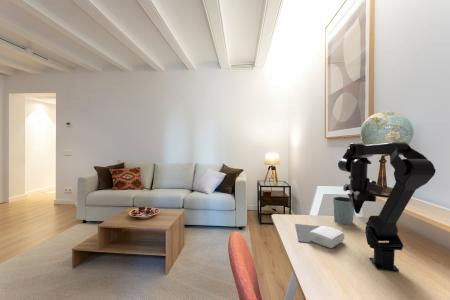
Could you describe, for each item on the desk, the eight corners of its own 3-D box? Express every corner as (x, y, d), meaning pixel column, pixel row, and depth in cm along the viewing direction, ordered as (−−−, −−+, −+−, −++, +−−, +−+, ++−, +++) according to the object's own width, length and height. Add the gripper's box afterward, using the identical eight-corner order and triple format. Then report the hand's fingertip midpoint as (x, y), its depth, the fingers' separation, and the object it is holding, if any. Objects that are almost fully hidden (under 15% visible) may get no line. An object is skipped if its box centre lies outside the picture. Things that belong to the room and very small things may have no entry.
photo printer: (308, 230, 93) (323, 223, 101) (307, 240, 93) (322, 232, 101) (333, 239, 85) (347, 231, 93) (332, 250, 85) (346, 241, 93)
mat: (332, 245, 89) (332, 244, 89) (298, 241, 93) (298, 241, 93) (323, 227, 109) (323, 226, 109) (295, 224, 112) (295, 223, 112)
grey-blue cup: (351, 219, 120) (351, 197, 120) (357, 226, 111) (358, 202, 110) (330, 217, 123) (331, 196, 122) (334, 224, 113) (335, 200, 113)
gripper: (393, 179, 78) (391, 223, 79) (372, 172, 96) (370, 208, 97) (358, 177, 81) (356, 220, 81) (343, 171, 99) (342, 206, 99)
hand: (357, 213), depth 90 cm, fingers closed
